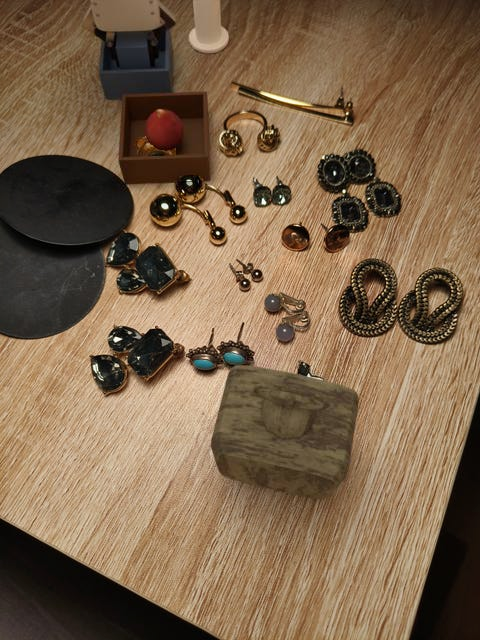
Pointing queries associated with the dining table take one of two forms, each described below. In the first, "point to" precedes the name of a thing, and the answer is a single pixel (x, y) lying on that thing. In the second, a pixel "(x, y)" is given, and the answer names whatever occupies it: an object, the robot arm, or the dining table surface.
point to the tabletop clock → (284, 431)
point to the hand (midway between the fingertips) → (136, 60)
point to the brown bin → (188, 153)
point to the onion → (164, 130)
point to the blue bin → (137, 73)
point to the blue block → (132, 50)
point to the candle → (208, 27)
